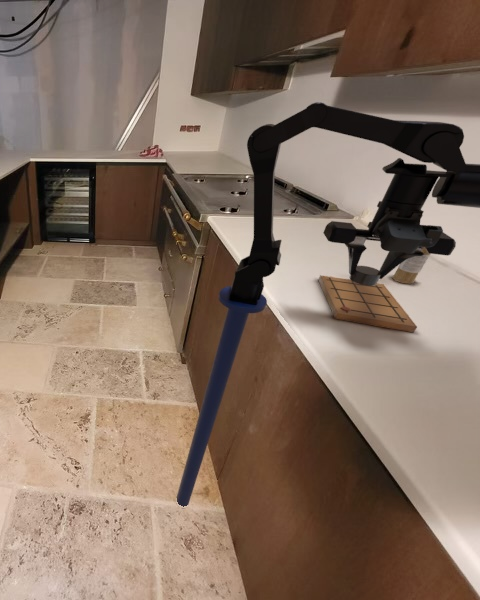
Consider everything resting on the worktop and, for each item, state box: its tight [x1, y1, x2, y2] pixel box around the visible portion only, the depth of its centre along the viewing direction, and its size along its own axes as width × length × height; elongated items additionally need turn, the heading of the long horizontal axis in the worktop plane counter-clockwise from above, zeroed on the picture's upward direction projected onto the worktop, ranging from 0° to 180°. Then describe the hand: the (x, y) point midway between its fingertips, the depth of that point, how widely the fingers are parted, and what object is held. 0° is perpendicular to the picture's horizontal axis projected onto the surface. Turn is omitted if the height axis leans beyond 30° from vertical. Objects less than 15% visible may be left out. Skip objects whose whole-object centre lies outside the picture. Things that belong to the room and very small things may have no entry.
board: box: [317, 275, 418, 333], centre depth 77 cm, size 14×20×2 cm
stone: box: [348, 265, 382, 286], centre depth 67 cm, size 5×5×2 cm
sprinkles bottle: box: [392, 247, 431, 285], centre depth 84 cm, size 5×5×14 cm
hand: (364, 276), depth 67 cm, fingers closed on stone, 4 cm apart
